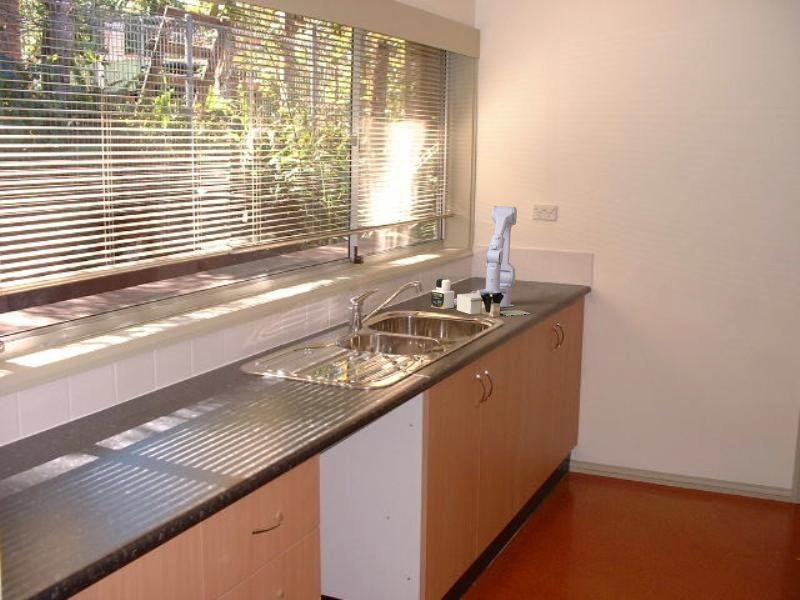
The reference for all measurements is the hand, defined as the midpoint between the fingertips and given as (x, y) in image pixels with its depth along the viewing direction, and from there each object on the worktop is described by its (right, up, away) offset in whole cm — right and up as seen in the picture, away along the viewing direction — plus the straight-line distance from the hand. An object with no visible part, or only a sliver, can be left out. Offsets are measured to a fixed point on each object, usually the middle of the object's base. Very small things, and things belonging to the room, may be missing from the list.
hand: (491, 311), depth 389 cm
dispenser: (-5, 0, +9) cm, 10 cm away
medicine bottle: (-20, +2, +15) cm, 25 cm away
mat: (+9, -1, +6) cm, 11 cm away
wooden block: (-1, -1, +2) cm, 2 cm away
